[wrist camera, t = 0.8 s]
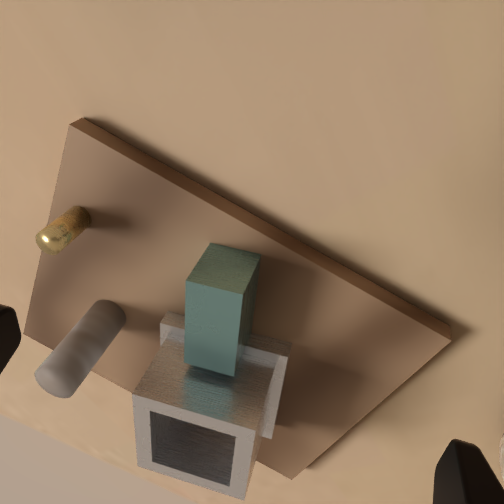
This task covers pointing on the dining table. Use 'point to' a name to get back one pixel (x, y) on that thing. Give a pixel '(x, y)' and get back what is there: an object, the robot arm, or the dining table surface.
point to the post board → (173, 296)
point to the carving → (502, 455)
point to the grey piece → (211, 380)
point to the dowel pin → (63, 230)
